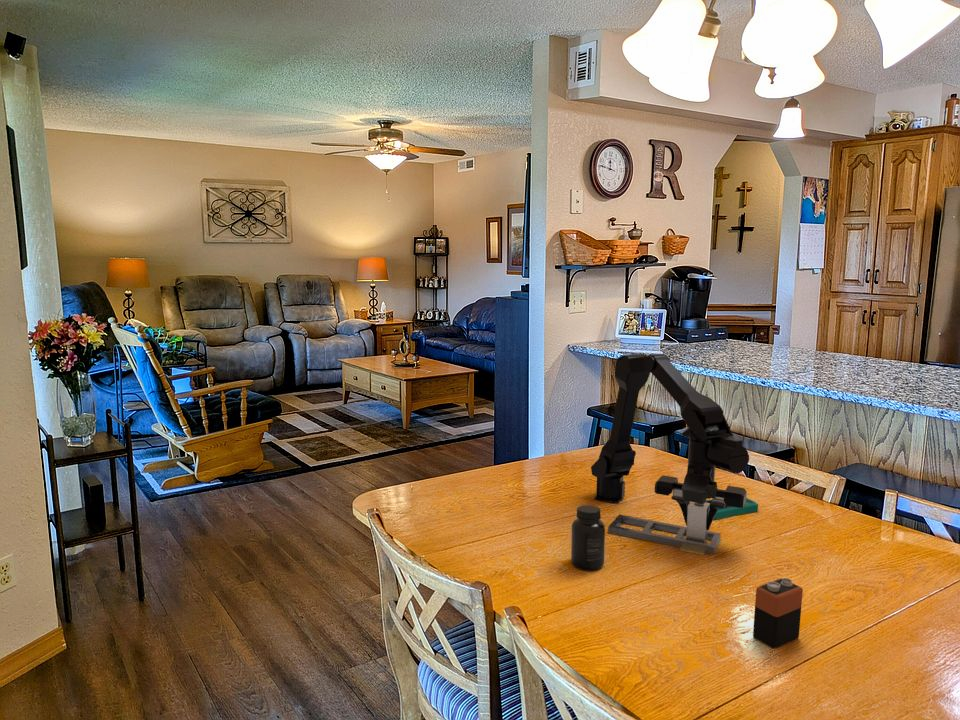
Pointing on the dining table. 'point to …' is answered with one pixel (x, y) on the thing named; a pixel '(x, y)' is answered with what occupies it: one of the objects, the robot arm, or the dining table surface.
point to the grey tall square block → (697, 522)
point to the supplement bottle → (588, 539)
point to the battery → (777, 612)
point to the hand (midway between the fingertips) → (697, 527)
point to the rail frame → (648, 536)
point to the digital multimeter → (735, 509)
